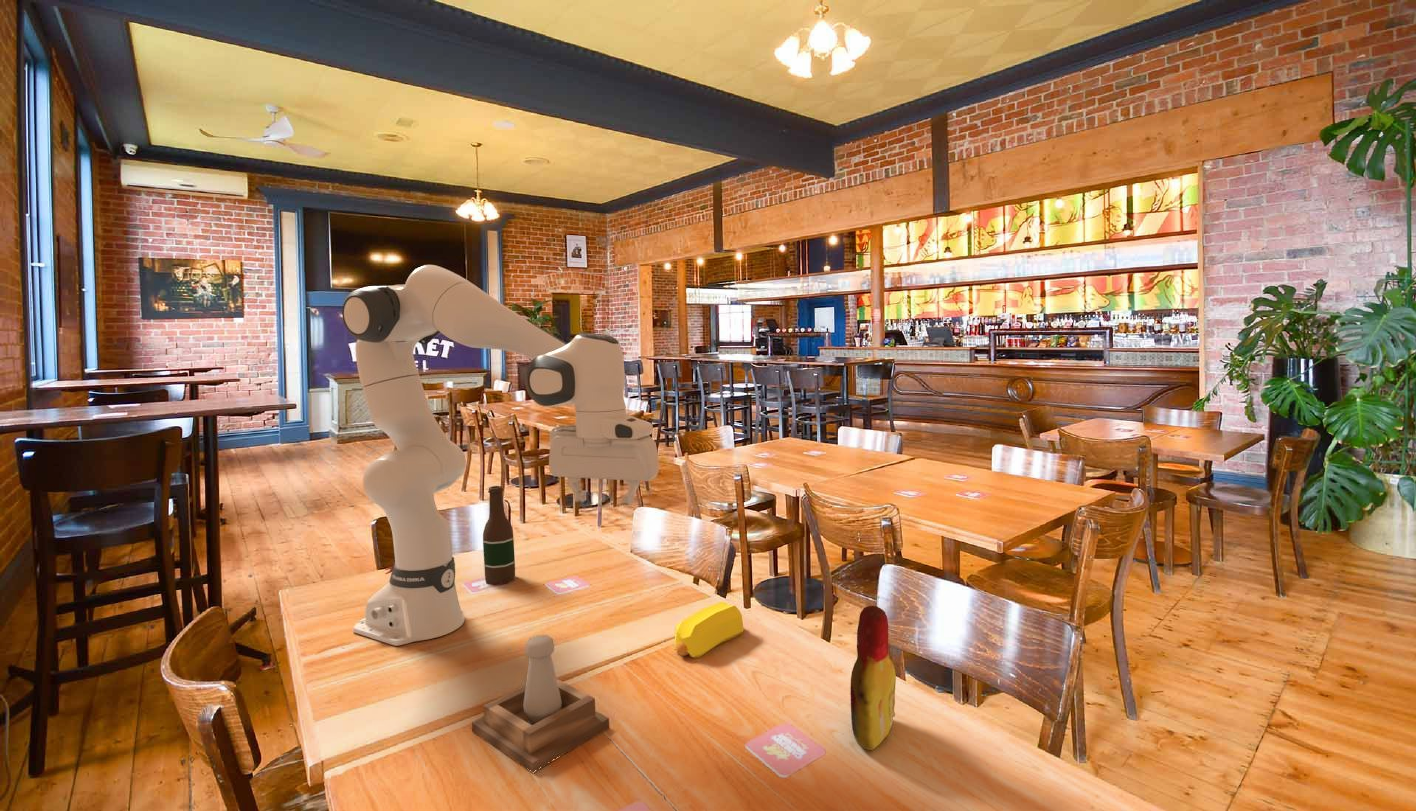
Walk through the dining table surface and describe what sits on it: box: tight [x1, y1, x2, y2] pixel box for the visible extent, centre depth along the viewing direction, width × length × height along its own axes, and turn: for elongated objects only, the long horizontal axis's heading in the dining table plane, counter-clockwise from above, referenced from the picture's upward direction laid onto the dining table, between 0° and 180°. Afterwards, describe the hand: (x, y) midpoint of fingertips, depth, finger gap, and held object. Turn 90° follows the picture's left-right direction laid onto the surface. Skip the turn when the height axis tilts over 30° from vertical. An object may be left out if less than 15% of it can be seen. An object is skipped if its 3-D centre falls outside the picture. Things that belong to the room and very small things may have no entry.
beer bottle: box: [482, 485, 516, 586], centre depth 168 cm, size 8×8×24 cm
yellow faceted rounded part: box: [674, 601, 745, 659], centre depth 132 cm, size 18×7×8 cm
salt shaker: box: [523, 634, 562, 725], centre depth 103 cm, size 6×6×13 cm
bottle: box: [849, 605, 897, 751], centre depth 99 cm, size 12×6×20 cm, turn 152°
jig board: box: [471, 678, 610, 773], centre depth 103 cm, size 16×14×4 cm
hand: (604, 502), depth 119 cm, fingers open, 8 cm apart
